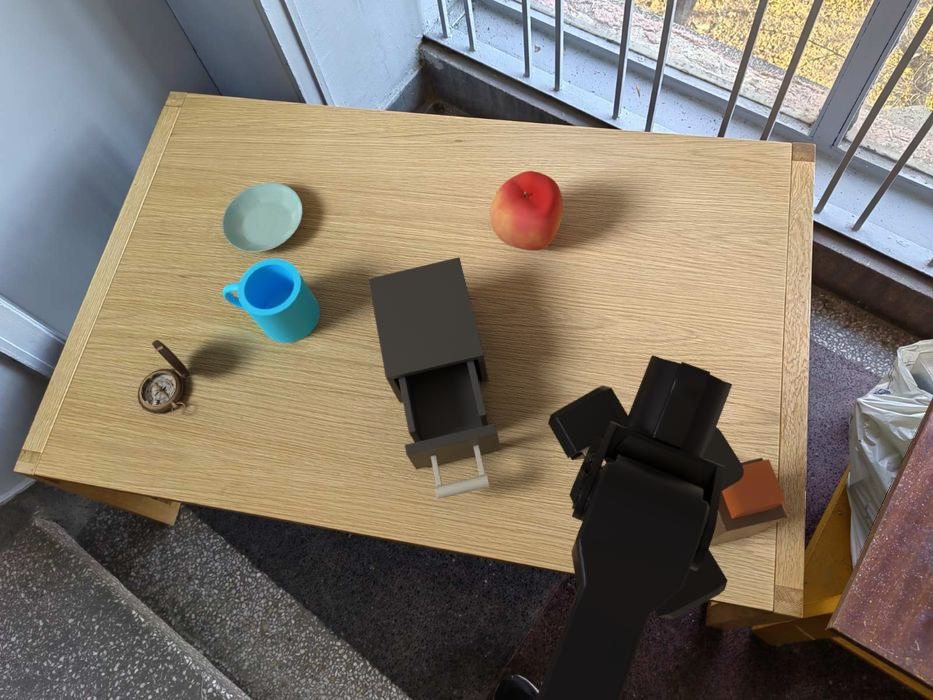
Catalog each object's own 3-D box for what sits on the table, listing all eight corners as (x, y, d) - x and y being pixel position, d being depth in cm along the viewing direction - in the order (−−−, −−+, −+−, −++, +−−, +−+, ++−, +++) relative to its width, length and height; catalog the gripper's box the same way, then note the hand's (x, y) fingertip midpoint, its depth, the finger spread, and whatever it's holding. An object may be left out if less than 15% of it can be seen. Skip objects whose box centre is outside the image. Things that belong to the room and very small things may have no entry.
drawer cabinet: (488, 381, 86) (483, 354, 78) (399, 402, 86) (385, 378, 78) (466, 290, 92) (459, 256, 84) (382, 310, 92) (367, 278, 84)
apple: (524, 195, 97) (523, 148, 88) (577, 230, 94) (581, 185, 85) (479, 239, 95) (473, 196, 86) (531, 277, 92) (531, 236, 83)
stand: (750, 536, 76) (786, 517, 65) (698, 548, 76) (725, 531, 65) (730, 484, 78) (762, 457, 67) (680, 496, 78) (703, 471, 67)
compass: (131, 396, 90) (99, 375, 84) (177, 353, 92) (149, 330, 85) (167, 433, 87) (137, 415, 81) (213, 389, 89) (188, 368, 83)
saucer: (226, 265, 97) (219, 256, 95) (229, 197, 102) (223, 188, 100) (307, 253, 97) (302, 245, 95) (306, 186, 101) (302, 176, 99)
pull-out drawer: (510, 489, 80) (508, 475, 73) (423, 509, 80) (414, 498, 73) (477, 356, 87) (473, 334, 81) (398, 375, 87) (387, 354, 81)
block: (772, 509, 65) (786, 501, 62) (731, 519, 65) (743, 511, 62) (756, 469, 67) (769, 459, 63) (716, 478, 67) (727, 469, 63)
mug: (326, 292, 94) (308, 261, 86) (311, 346, 91) (290, 319, 83) (245, 283, 96) (221, 252, 88) (227, 335, 92) (200, 308, 85)
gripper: (812, 570, 47) (763, 542, 62) (665, 340, 51) (653, 366, 66) (668, 645, 48) (655, 599, 63) (536, 413, 52) (553, 422, 67)
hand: (631, 492), depth 65 cm, fingers open, 9 cm apart
